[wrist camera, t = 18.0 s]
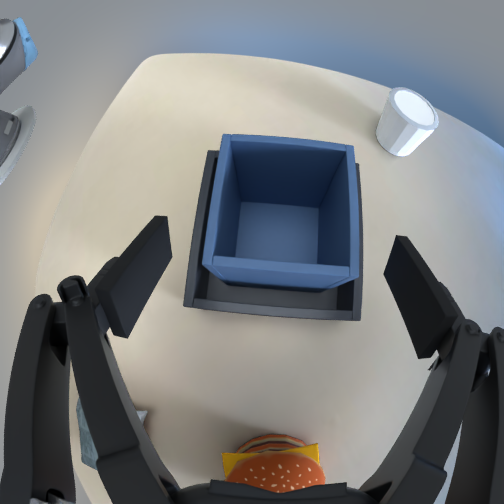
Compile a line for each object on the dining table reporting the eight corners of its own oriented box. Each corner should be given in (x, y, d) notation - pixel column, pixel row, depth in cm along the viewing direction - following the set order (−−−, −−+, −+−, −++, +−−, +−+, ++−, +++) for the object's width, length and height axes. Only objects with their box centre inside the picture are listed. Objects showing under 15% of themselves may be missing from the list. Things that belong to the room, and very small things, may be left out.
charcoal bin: (199, 308, 26) (182, 306, 21) (217, 178, 29) (207, 150, 24) (341, 320, 25) (361, 320, 20) (343, 189, 29) (358, 163, 23)
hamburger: (238, 497, 21) (232, 531, 14) (223, 435, 23) (212, 465, 17) (320, 487, 21) (331, 520, 14) (314, 423, 23) (327, 451, 17)
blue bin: (226, 285, 26) (201, 264, 15) (236, 198, 28) (222, 133, 17) (320, 293, 25) (359, 277, 15) (323, 205, 27) (353, 145, 17)
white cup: (417, 167, 29) (443, 138, 22) (371, 151, 30) (392, 117, 23) (413, 128, 31) (433, 98, 24) (370, 114, 31) (386, 79, 24)
